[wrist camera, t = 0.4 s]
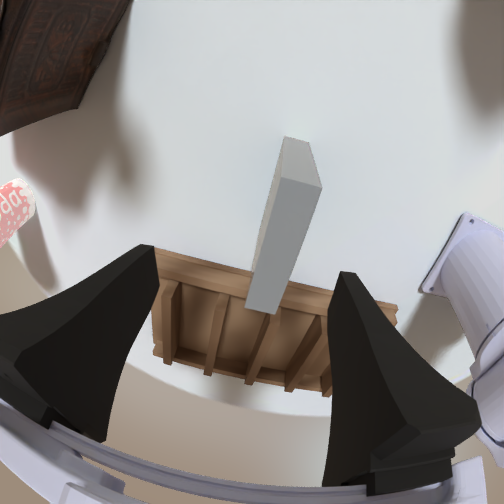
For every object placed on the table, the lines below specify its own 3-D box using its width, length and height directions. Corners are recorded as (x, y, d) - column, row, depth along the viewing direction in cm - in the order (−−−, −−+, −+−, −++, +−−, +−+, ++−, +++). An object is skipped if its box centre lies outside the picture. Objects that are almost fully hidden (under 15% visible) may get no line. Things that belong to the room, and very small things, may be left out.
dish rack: (396, 305, 24) (406, 334, 21) (339, 378, 31) (340, 404, 28) (152, 246, 23) (134, 273, 20) (155, 339, 30) (144, 364, 27)
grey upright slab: (309, 142, 17) (322, 188, 10) (281, 233, 21) (275, 314, 14) (284, 135, 17) (281, 176, 10) (259, 228, 21) (244, 307, 14)
